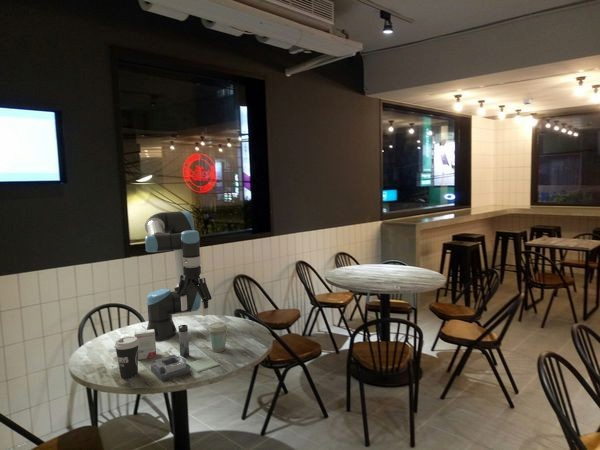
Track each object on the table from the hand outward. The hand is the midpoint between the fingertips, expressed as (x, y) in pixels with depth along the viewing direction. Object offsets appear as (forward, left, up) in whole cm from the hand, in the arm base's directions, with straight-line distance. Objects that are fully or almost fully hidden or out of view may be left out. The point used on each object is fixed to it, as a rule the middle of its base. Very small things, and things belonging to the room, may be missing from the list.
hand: (194, 312), depth 190 cm
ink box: (-16, -17, -20) cm, 31 cm away
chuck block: (+7, -15, -20) cm, 26 cm away
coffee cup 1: (-2, -29, -20) cm, 36 cm away
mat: (+10, -2, -20) cm, 23 cm away
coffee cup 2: (0, +11, -20) cm, 23 cm away
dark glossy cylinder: (-4, -4, -20) cm, 21 cm away
